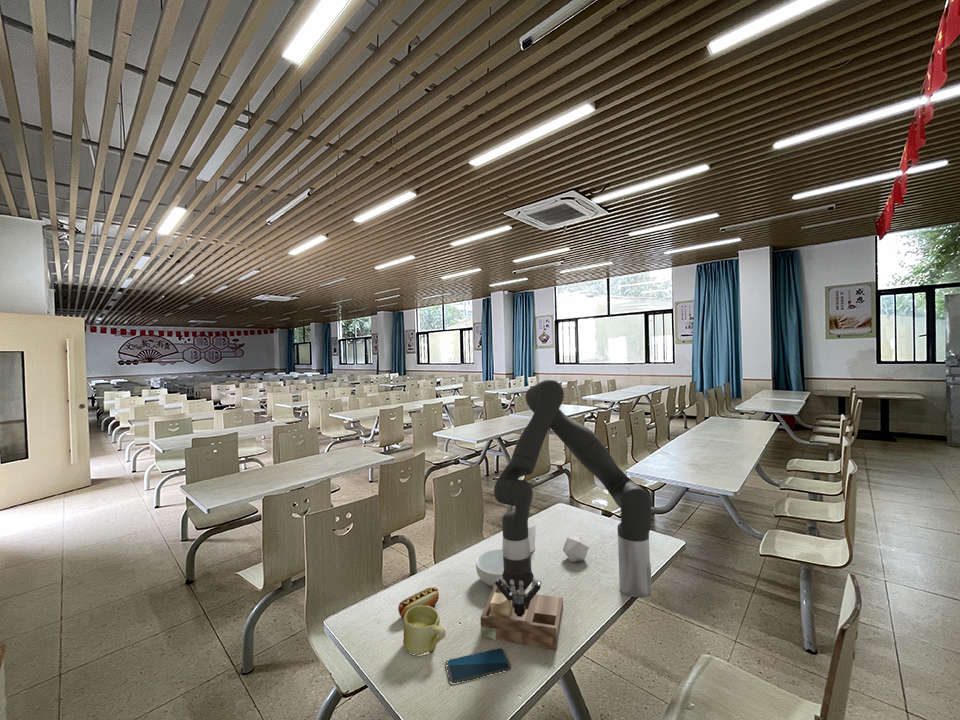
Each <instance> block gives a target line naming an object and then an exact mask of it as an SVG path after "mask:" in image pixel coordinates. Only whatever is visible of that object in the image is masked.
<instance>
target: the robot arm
mask: <svg viewBox="0 0 960 720" xmlns="http://www.w3.org/2000/svg"><path fill="white" fill-rule="evenodd" d="M564 393H565V392H564V388H563V387H562V385H561V384H560V383H559V382H558V381H557V380H555V379H552V378H551V379H544V380H543V381H540V382H538V383H537V384H535V385H533V386H531V387H529V388H528V390H527V391H526V393H525V401H526V404H527V406H528V408H529V409H530V410H531V412H532V413H533V415H532V417H531V419H530V420H529V422H528V424H527V425H526V426H525V427H524V429H523V432H522V433H521V435H520V436H519V438H518V440H517V442H516V445H515V447H514V450H513V452H512V455H511V458H510V460H509V462H508V464H507V465H506V466H505V468H504V469H503V471H502V472H501V474H500V475H499V477H497V480H496V482H495V484H494V486H493V487H494V489H493V496H494V498H495V500H496V501H497V502H498V503H500V504H502V505H508V506H512V507H515V508H514V509H515V511H514V510H512V511H508V512H506V513H504V514H503V515H502V519H501V527H502V529H501V530H502V541H501V542H502V545H501V546H502V548H501V549H502V552H503V565H504V572H503V574H502V576H501V577H498V578H497V580H496V583H495V584H496V586H497V587H498V588H499V589H500V591H501V592H502V593H503V595H504V596H505V597H506V599H507V600H512V601H513V602H514V612H515V614H517V616H518V617H522V616H523V615H524V613H525V602H530V601H531V600H532V598H533V597H534V596H535V595H536V594H537V593H538V592H539V591H540V589H541V586H542V581H541V580H537V579H536V578H535V576H534V573H533V572H532V556H531V553H530V541H529V535H528V520H529V516H530V510H531V506H532V502H533V497H534V495H533V494H534V492H533V488H532V485H531V484H530V483H529V481H527V480H524V479H520V478H521V477H524V476H525V477H526V476H530V475H532V474H533V473H534V471H535V468H536V465H537V462H538V459H539V457H540V452H541V449H542V447H543V444H544V441H545V438H546V437H547V434H548V432H549V430H552V431H553V433H554V434H555V435H556V436H557V437H558V439H559V440H561V441H562V442H563V444H564V445H565V446H566V448H567V449H568V450H569V451H570V453H572V455H573V457H575V458H576V459H577V460H578V462H580V464H581V465H583V467H584V468H585V469H587V471H589V473H591V474H592V475H593V476H594V477H596V478H597V479H598V480H599V482H600V483H601V484H602V485H603V486H604V488H605V489H606V491H608V493H609V495H610V497H612V499H613V501H614V502H615V504H616V505H617V506H618V507H619V509H620V522H619V523H618V525H617V545H618V547H617V548H618V550H617V553H618V575H619V576H618V579H619V581H618V582H619V583H618V584H619V590H620V591H621V592H622V593H623V594H624V595H626V596H628V597H631V598H635V599H636V598H637V597H638V596H639V597H638V598H637V599H641V598H646V597H647V598H648V597H653V593H652V592H653V589H652V566H651V565H652V564H651V555H650V553H651V552H650V532H651V529H652V501H651V497H650V495H649V493H648V492H647V491H646V490H645V489H644V488H643V487H641V486H640V485H639V484H638V483H636V482H635V481H633V480H632V479H631V478H630V477H629V476H628V475H627V474H626V473H625V472H624V471H623V470H621V468H620V467H619V466H618V464H617V463H616V462H615V460H614V459H613V457H612V454H611V453H610V452H609V450H608V448H607V447H606V446H605V445H604V443H603V442H602V440H600V438H599V437H598V436H597V435H596V434H595V433H594V432H593V431H592V430H591V429H590V428H588V427H587V426H585V425H584V424H582V423H579V422H578V421H576V420H574V419H572V418H570V417H568V416H567V415H566V413H564V412H563V411H562V410H561V409H560V408H561V406H562V404H563V403H564V402H563V401H564V397H565V394H564ZM505 582H506V583H507V584H508V586H507V585H506V583H505ZM529 586H531V589H530V590H529V591H528V592H527V593H528V594H527V595H525V593H526V590H527V589H528V588H529Z"/></svg>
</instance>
